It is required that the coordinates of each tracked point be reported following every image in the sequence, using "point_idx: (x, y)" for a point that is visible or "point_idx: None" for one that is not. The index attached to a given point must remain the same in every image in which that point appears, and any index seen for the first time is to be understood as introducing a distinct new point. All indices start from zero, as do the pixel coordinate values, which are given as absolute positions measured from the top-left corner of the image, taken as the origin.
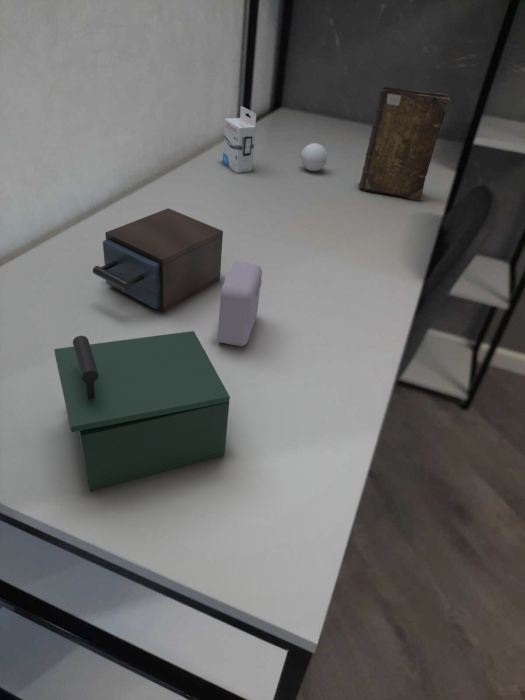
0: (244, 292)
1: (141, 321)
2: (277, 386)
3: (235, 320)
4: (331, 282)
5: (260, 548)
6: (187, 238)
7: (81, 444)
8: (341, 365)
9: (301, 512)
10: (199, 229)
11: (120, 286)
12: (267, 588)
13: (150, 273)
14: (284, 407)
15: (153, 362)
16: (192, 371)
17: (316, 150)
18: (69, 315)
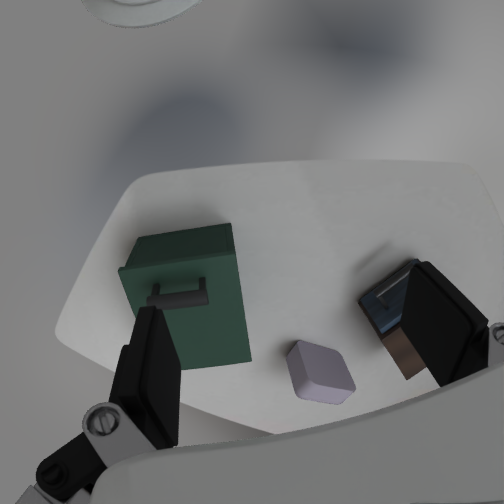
0: (301, 395)
1: (351, 284)
2: (234, 368)
3: (294, 370)
4: (348, 410)
5: (94, 329)
6: (408, 357)
7: (139, 256)
8: (249, 403)
9: (118, 354)
10: (418, 364)
11: (377, 288)
12: (71, 326)
13: (380, 319)
14: (210, 368)
15: (204, 332)
16: (190, 356)
17: None
18: (381, 220)
